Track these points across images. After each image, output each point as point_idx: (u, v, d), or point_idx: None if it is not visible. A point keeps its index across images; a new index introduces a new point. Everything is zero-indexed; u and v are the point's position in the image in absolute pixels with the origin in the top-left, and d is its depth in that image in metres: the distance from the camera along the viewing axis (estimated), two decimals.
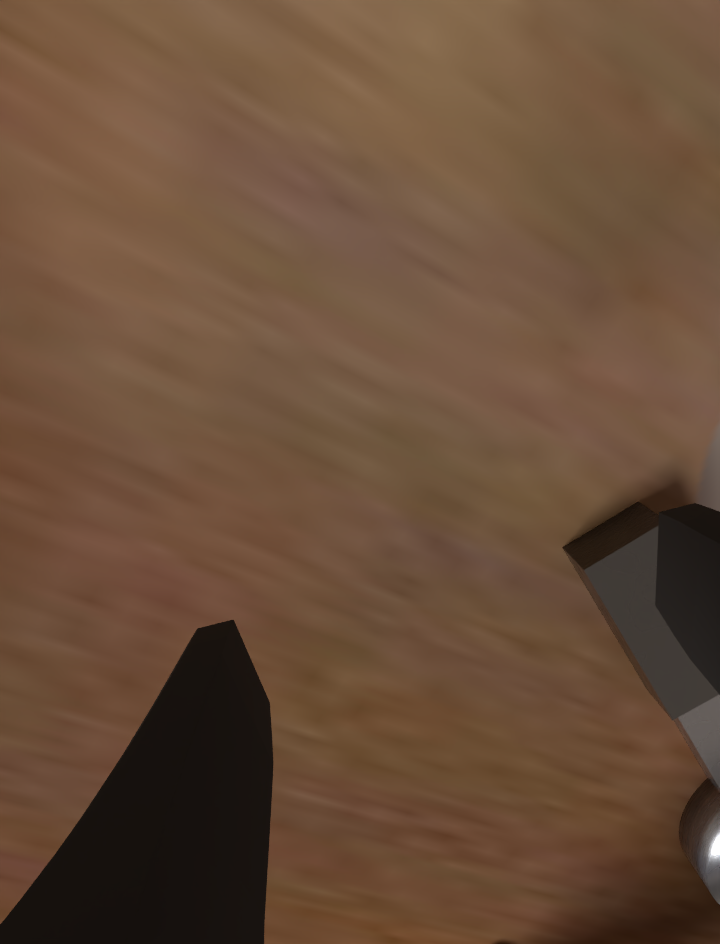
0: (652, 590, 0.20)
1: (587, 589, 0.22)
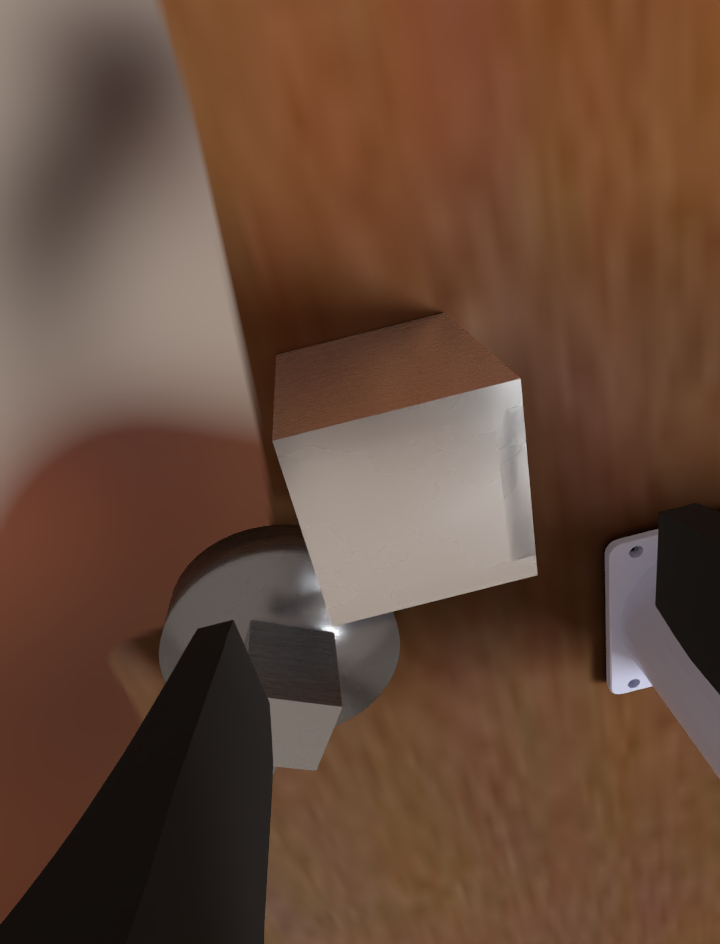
0: None
1: None
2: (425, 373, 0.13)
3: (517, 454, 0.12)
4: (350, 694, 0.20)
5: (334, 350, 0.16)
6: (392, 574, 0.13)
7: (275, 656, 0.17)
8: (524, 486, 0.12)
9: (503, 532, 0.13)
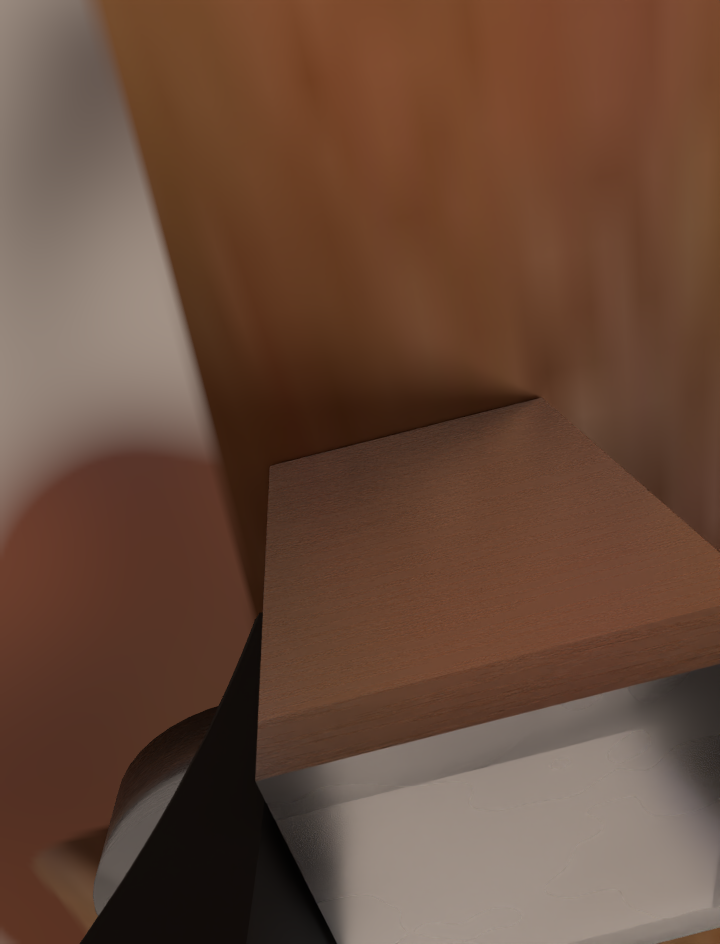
0: None
1: None
2: (564, 571, 0.06)
3: None
4: None
5: (367, 469, 0.09)
6: None
7: None
8: None
9: (709, 872, 0.07)
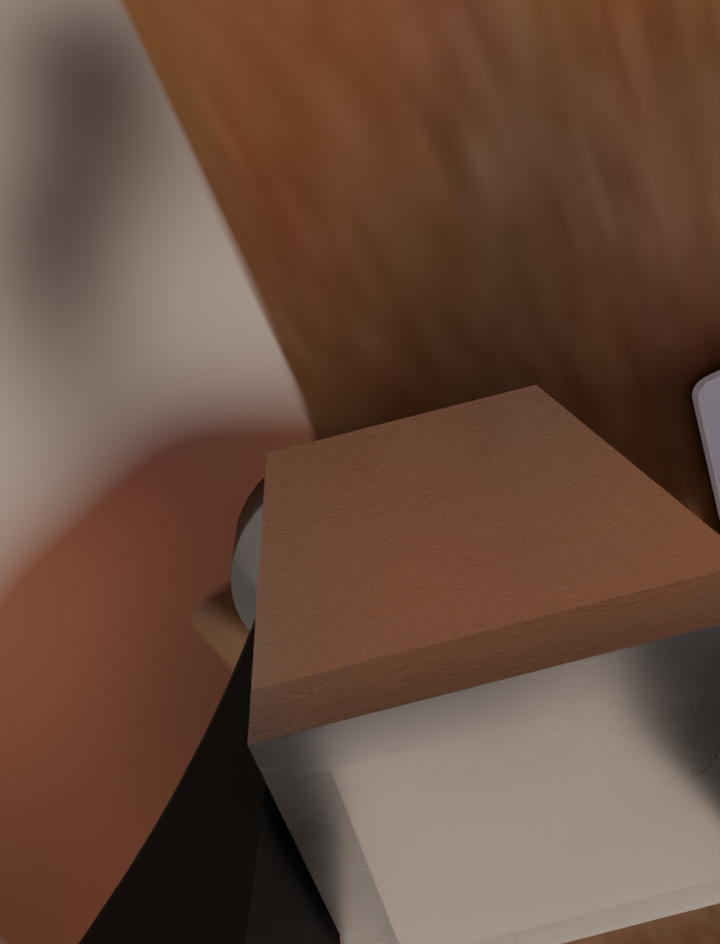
0: None
1: None
2: (555, 545, 0.06)
3: None
4: None
5: (363, 455, 0.09)
6: (484, 919, 0.07)
7: None
8: None
9: (701, 846, 0.07)
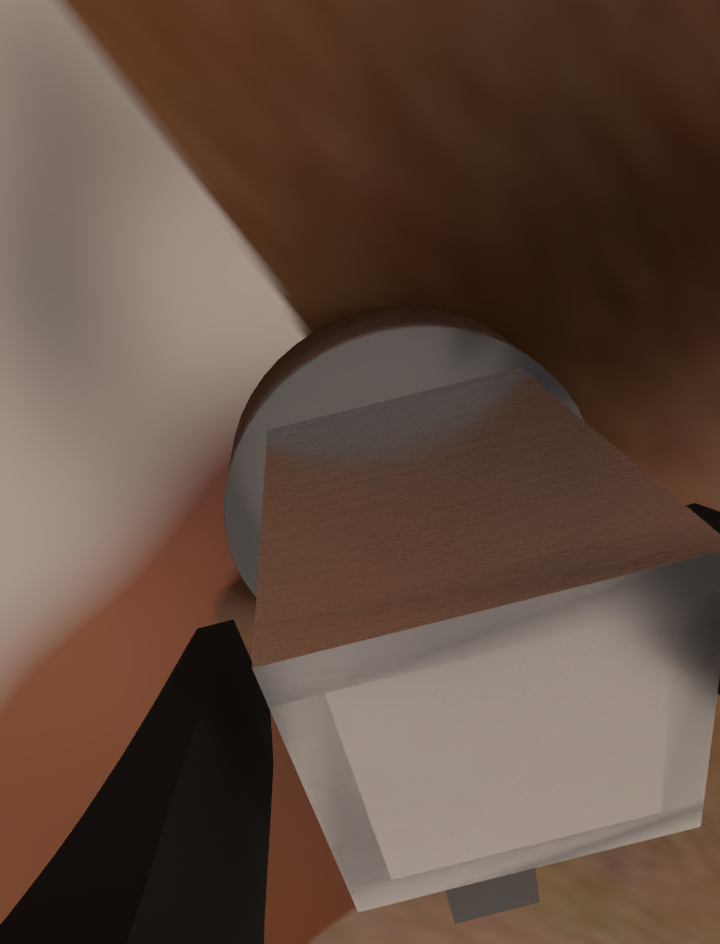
0: (488, 882, 0.20)
1: None
2: (526, 505, 0.07)
3: (703, 665, 0.07)
4: None
5: (357, 431, 0.10)
6: (461, 842, 0.08)
7: None
8: (706, 712, 0.07)
9: (657, 776, 0.07)
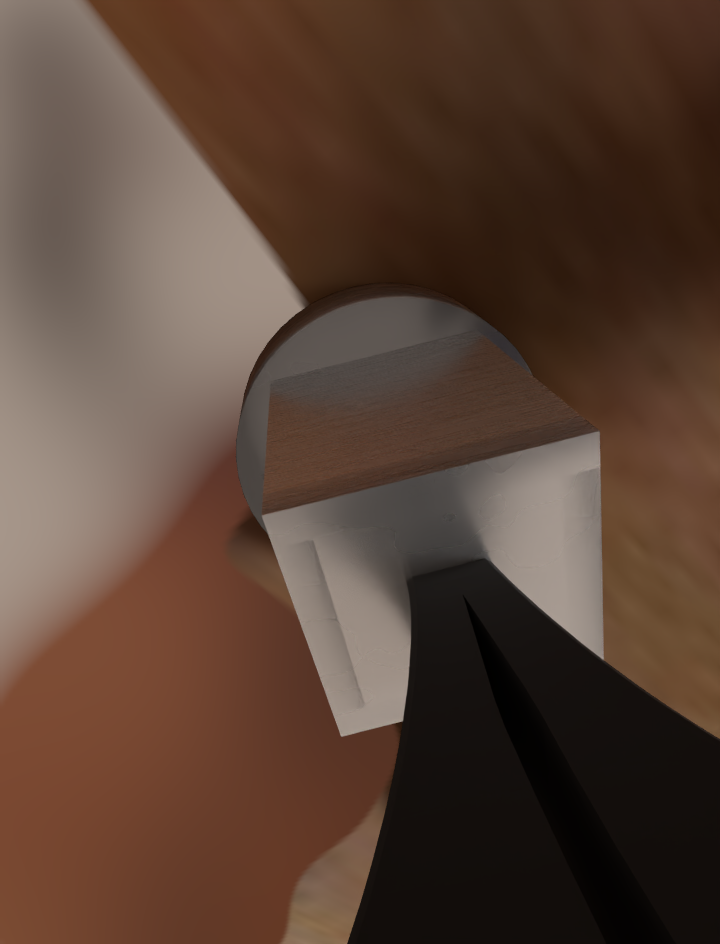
0: None
1: None
2: (464, 416, 0.10)
3: (588, 527, 0.09)
4: None
5: (343, 377, 0.13)
6: None
7: None
8: (594, 566, 0.09)
9: (564, 622, 0.10)
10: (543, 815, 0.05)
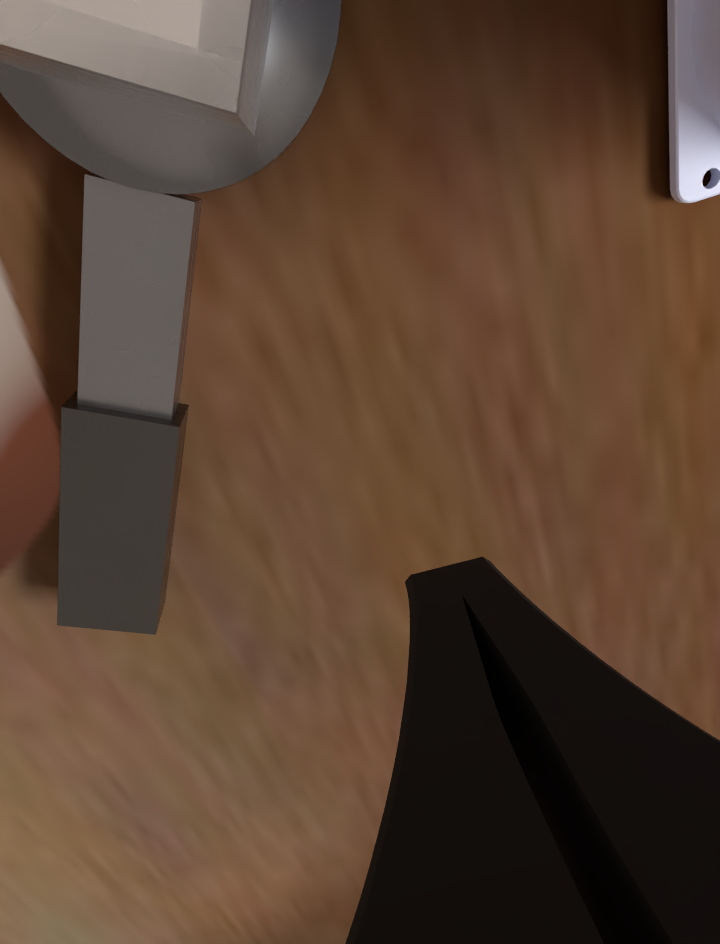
0: (108, 578, 0.19)
1: (170, 555, 0.21)
2: None
3: None
4: (272, 91, 0.13)
5: None
6: None
7: None
8: None
9: None
10: (542, 815, 0.05)
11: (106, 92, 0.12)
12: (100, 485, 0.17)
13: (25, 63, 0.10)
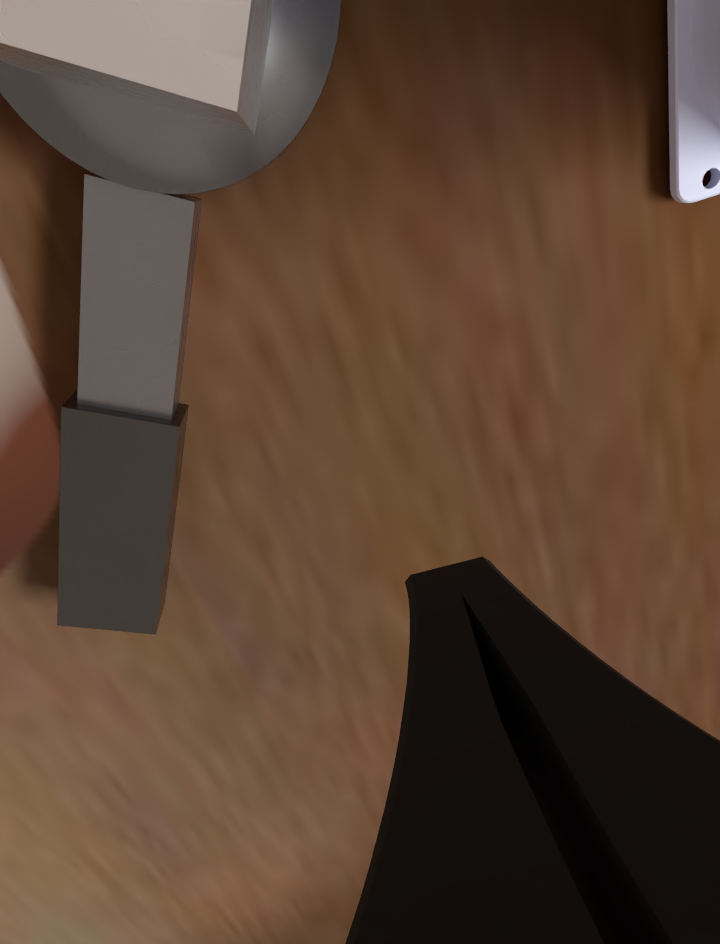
0: (108, 578, 0.19)
1: None
2: None
3: None
4: (272, 91, 0.13)
5: None
6: None
7: None
8: None
9: None
10: (542, 815, 0.05)
11: (106, 91, 0.12)
12: (100, 485, 0.17)
13: (26, 62, 0.10)
